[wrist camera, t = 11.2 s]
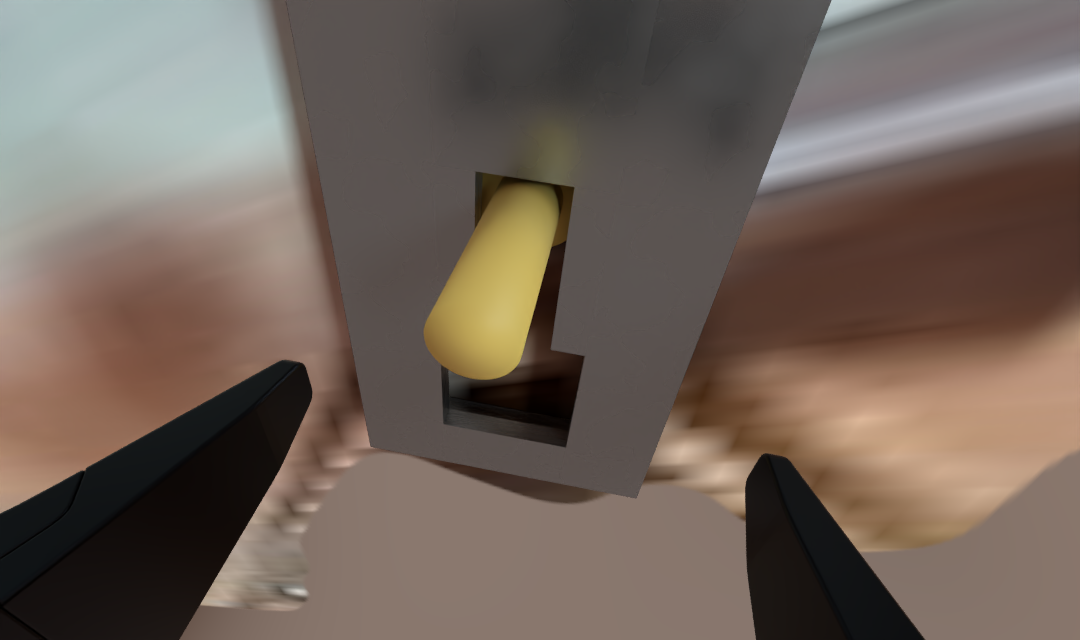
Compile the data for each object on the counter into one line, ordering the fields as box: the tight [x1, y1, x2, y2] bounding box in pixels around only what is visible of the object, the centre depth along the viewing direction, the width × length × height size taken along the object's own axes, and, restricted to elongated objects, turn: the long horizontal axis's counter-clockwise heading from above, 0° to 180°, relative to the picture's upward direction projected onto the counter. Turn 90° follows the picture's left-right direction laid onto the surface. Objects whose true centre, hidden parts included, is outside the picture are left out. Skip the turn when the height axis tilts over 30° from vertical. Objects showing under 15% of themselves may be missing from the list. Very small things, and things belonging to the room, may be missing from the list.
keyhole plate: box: [286, 0, 831, 498], centre depth 20 cm, size 14×22×3 cm, turn 175°
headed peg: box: [424, 173, 574, 380], centre depth 16 cm, size 4×4×9 cm
